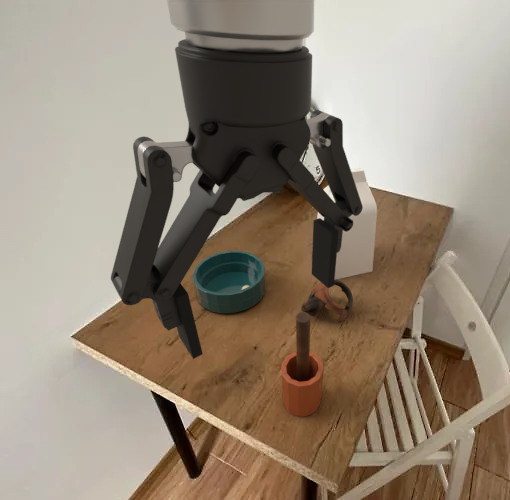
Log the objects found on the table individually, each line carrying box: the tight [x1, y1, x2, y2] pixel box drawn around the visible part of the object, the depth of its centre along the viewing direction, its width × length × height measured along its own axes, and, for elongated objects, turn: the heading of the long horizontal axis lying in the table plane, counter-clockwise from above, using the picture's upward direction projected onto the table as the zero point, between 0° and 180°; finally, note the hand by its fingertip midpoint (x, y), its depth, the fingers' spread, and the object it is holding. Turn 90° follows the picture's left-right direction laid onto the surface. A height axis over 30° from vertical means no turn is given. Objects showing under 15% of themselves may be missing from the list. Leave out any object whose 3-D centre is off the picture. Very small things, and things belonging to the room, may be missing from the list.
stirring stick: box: [295, 311, 311, 382], centre depth 56 cm, size 2×2×20 cm
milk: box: [316, 167, 378, 280], centre depth 86 cm, size 12×12×26 cm
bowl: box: [192, 250, 267, 314], centre depth 81 cm, size 15×15×6 cm
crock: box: [280, 350, 324, 418], centre depth 59 cm, size 7×7×9 cm
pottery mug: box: [301, 279, 354, 323], centre depth 77 cm, size 12×10×8 cm
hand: (264, 309), depth 32 cm, fingers open, 13 cm apart
